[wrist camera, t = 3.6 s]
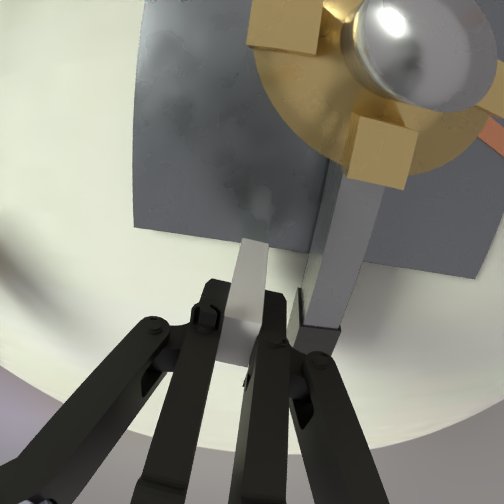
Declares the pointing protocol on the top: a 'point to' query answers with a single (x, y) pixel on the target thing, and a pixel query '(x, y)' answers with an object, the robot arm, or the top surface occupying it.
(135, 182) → the flat plate
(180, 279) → the top surface
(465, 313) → the top surface
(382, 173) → the brass knob with lugs
